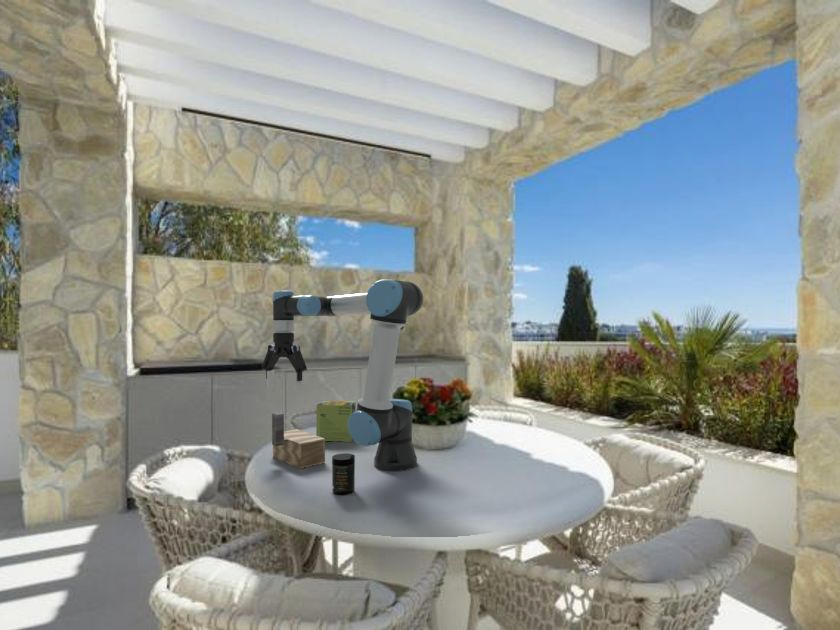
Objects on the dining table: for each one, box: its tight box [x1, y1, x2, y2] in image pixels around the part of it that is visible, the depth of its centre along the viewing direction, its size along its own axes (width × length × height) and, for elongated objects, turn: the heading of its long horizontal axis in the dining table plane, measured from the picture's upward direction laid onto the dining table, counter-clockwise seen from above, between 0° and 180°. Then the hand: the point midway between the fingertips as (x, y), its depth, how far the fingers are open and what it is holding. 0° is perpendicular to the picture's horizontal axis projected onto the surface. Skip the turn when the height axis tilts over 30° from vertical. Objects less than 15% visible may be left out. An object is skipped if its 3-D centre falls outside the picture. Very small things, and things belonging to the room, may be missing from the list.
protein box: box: [315, 400, 357, 443], centre depth 203 cm, size 10×15×16 cm
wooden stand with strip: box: [271, 412, 325, 446], centre depth 171 cm, size 20×14×11 cm
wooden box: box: [272, 440, 326, 470], centre depth 173 cm, size 20×10×8 cm, turn 43°
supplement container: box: [331, 452, 356, 496], centre depth 141 cm, size 7×7×10 cm
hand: (284, 389), depth 176 cm, fingers open, 13 cm apart
